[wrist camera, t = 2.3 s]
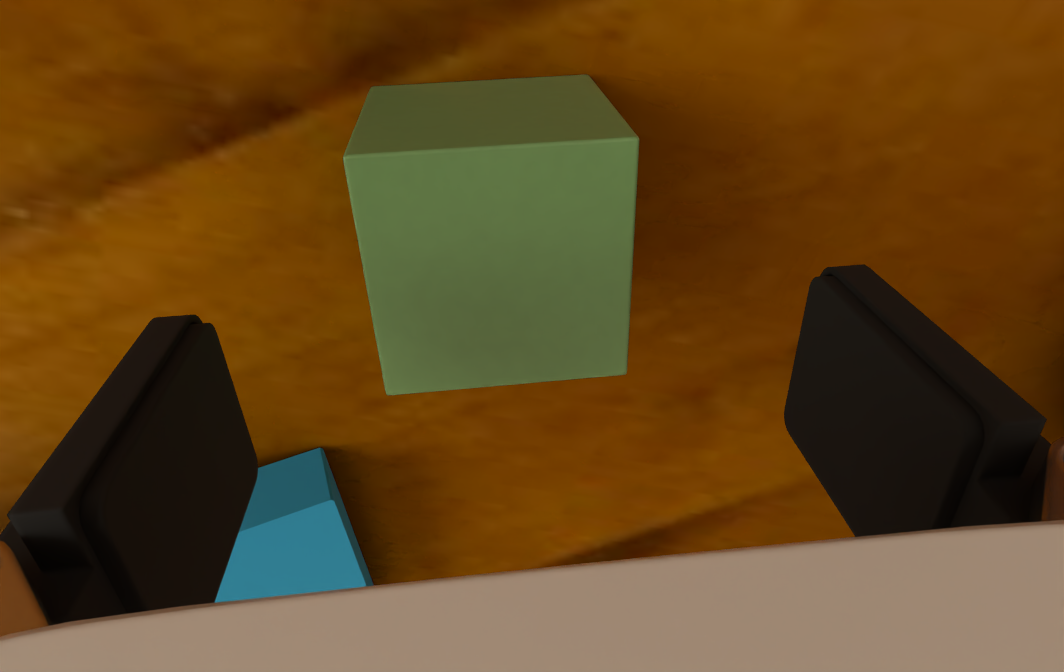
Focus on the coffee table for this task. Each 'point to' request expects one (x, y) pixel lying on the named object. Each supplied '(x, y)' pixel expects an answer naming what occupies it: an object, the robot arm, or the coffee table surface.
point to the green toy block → (495, 230)
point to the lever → (294, 535)
